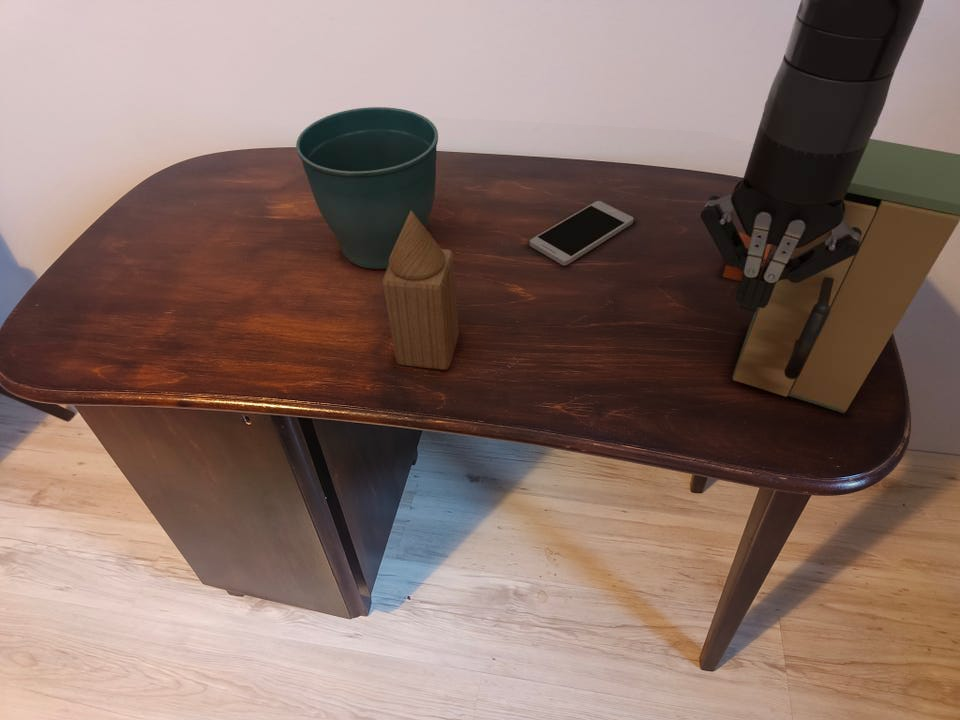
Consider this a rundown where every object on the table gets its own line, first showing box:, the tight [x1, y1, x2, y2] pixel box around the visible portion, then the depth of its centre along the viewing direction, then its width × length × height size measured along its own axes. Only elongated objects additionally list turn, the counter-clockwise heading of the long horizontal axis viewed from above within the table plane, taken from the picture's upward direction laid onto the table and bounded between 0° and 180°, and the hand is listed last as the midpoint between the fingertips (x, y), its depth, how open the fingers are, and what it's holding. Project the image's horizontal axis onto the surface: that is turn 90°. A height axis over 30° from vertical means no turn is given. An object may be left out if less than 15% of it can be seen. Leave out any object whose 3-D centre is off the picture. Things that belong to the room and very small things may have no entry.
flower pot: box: [295, 106, 439, 270], centre depth 88 cm, size 18×18×17 cm
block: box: [722, 231, 772, 287], centre depth 85 cm, size 4×4×4 cm
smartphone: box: [529, 200, 634, 266], centre depth 94 cm, size 7×16×1 cm, turn 132°
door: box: [732, 200, 877, 398], centre depth 61 cm, size 6×6×24 cm
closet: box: [731, 138, 960, 414], centre depth 65 cm, size 12×10×26 cm
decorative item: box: [382, 211, 460, 371], centre depth 71 cm, size 7×7×20 cm
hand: (749, 304), depth 59 cm, fingers closed
